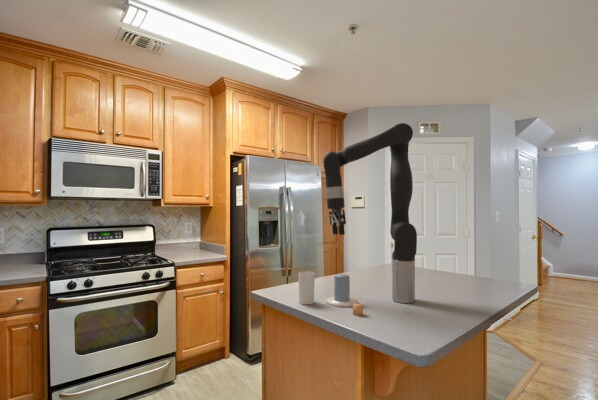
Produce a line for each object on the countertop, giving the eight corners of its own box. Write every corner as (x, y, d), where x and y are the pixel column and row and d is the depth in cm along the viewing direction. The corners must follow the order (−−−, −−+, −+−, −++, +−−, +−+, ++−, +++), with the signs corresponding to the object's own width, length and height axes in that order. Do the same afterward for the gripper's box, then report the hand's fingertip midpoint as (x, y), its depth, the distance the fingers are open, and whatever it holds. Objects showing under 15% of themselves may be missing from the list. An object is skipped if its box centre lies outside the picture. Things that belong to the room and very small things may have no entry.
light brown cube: (356, 312, 122) (356, 302, 122) (364, 314, 120) (364, 304, 120) (351, 314, 119) (351, 304, 119) (359, 316, 117) (359, 306, 117)
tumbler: (339, 297, 139) (339, 273, 139) (351, 299, 135) (351, 275, 136) (331, 299, 135) (331, 275, 135) (343, 302, 131) (344, 277, 131)
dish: (337, 296, 144) (337, 294, 144) (363, 302, 135) (363, 299, 136) (319, 302, 134) (319, 300, 134) (346, 309, 126) (346, 306, 126)
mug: (316, 304, 132) (316, 274, 132) (299, 305, 130) (300, 275, 131) (310, 297, 141) (311, 270, 142) (295, 298, 140) (295, 270, 141)
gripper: (349, 195, 137) (352, 234, 136) (337, 198, 151) (341, 233, 150) (332, 196, 135) (335, 235, 134) (322, 199, 149) (325, 235, 148)
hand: (338, 234), depth 142 cm, fingers open, 8 cm apart
